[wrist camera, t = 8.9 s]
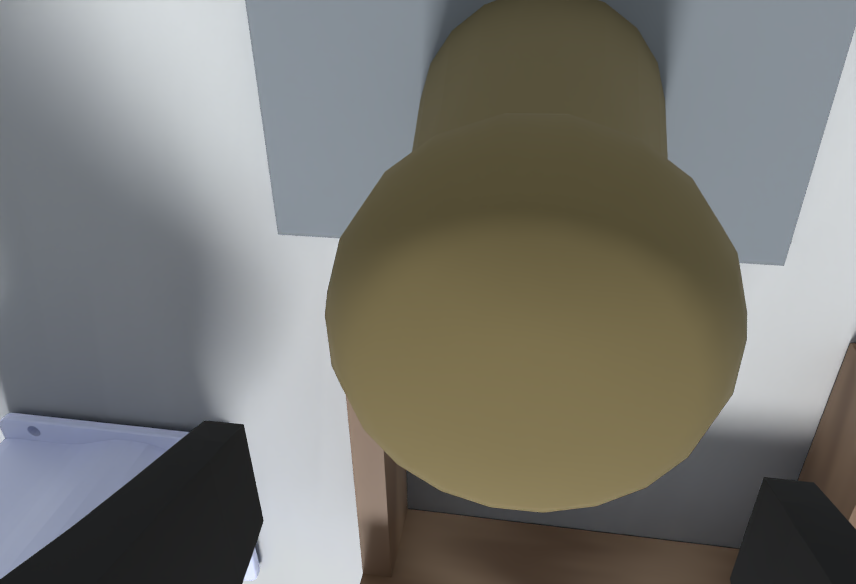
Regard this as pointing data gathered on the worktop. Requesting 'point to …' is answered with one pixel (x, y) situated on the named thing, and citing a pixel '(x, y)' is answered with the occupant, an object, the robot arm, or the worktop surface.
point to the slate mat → (638, 3)
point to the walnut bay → (554, 546)
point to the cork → (538, 272)
